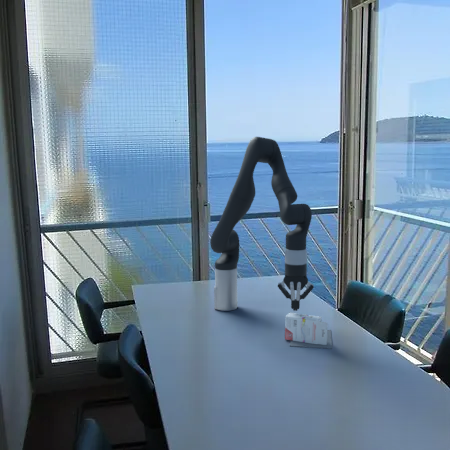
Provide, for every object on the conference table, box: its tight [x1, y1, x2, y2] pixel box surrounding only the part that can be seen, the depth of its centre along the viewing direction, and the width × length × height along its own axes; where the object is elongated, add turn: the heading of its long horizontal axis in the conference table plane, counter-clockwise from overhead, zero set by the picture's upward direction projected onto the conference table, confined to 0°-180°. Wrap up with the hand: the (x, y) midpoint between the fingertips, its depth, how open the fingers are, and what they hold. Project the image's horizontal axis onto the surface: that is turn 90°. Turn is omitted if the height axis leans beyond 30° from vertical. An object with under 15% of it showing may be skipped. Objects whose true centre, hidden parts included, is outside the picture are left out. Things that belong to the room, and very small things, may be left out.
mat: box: [289, 329, 333, 350], centre depth 175 cm, size 14×17×1 cm
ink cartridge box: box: [284, 312, 329, 345], centre depth 172 cm, size 9×5×15 cm
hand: (295, 310), depth 175 cm, fingers closed
